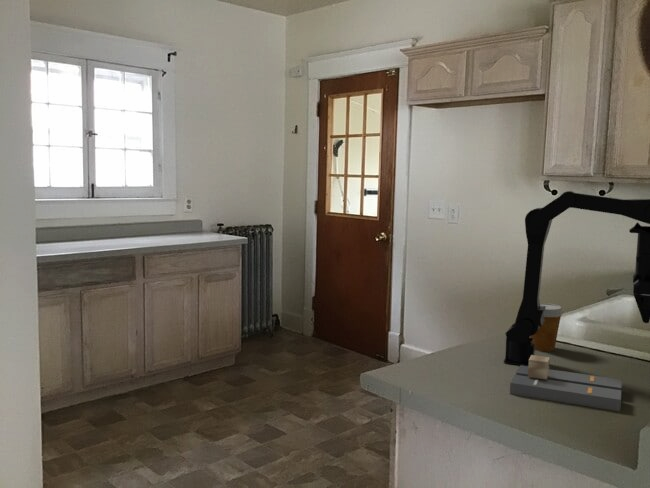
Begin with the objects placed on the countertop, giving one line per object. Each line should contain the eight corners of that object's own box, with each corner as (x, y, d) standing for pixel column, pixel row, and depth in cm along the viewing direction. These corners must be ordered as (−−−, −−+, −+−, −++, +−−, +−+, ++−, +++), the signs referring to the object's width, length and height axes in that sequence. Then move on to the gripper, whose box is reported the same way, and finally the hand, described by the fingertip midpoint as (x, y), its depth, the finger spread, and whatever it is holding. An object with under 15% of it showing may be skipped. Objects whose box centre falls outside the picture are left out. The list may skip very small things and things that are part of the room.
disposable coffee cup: (560, 345, 174) (562, 304, 173) (561, 354, 165) (563, 311, 164) (524, 342, 177) (526, 301, 176) (524, 351, 168) (526, 308, 167)
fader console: (509, 393, 135) (510, 382, 135) (519, 375, 148) (520, 364, 148) (620, 411, 126) (621, 399, 126) (620, 390, 138) (621, 379, 138)
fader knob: (527, 384, 139) (528, 359, 138) (530, 379, 142) (531, 355, 141) (546, 387, 137) (547, 362, 136) (548, 382, 140) (549, 357, 140)
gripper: (694, 260, 131) (688, 331, 133) (686, 250, 148) (681, 314, 149) (635, 256, 136) (630, 325, 138) (635, 247, 152) (630, 309, 154)
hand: (645, 318), depth 145 cm, fingers open, 9 cm apart
